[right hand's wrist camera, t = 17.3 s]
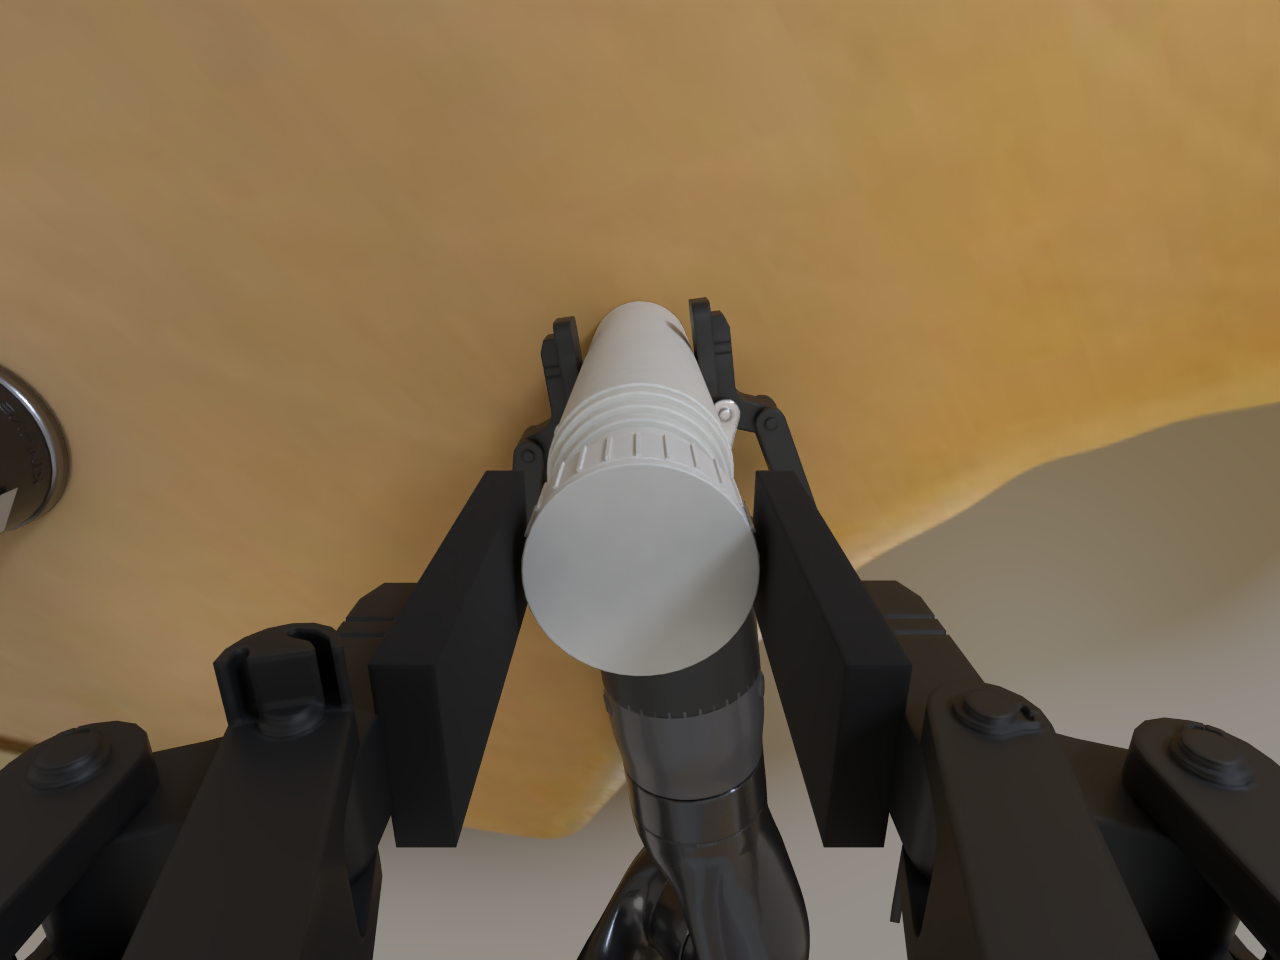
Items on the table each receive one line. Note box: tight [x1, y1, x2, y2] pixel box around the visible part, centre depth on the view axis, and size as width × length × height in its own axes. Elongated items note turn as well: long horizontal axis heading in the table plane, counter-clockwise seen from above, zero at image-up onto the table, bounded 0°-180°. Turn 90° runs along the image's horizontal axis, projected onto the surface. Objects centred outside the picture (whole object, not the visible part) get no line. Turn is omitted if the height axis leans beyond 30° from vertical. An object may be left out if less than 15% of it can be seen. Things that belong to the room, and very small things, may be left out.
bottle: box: [547, 301, 734, 483], centre depth 24 cm, size 5×5×23 cm
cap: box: [521, 431, 760, 676], centre depth 14 cm, size 4×4×2 cm
